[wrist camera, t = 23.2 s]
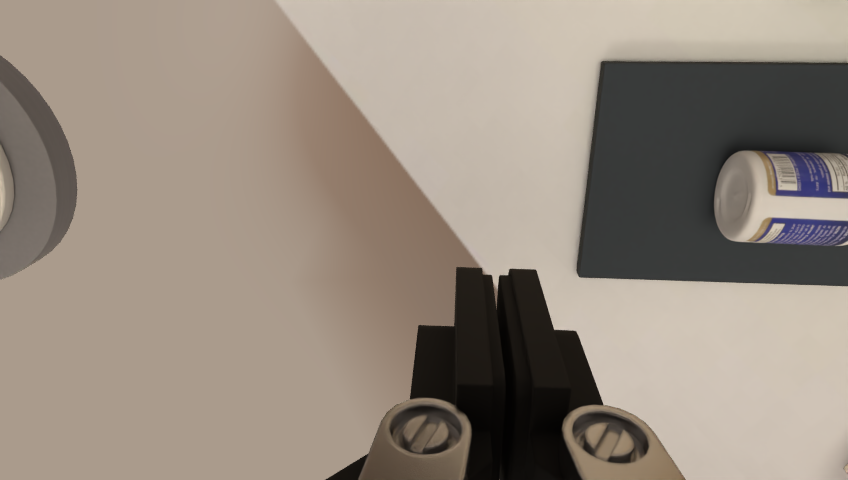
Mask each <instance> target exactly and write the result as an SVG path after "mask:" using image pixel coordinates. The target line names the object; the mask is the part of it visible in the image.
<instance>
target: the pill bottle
mask: <svg viewBox="0 0 848 480" xmlns="http://www.w3.org/2000/svg"><path fill="white" fill-rule="evenodd" d="M714 212H715V218H716V222H717V225H718V227H719V230H720V231H721V233H722V234H723V235H724V236H725V237H726V238H727V239H729V240H732V241H737V242H753V243H777V244H799V245H822V246H843V245H848V154H839V153H812V152H809V153H808V152H782V151H739V152H736V153H735V154H733V155H732V156H730V157H729V158H728V159H727V161H726V162H725V164H724V165H723V167H722V169H721V171H720V173H719V176H718V179H717V183H716V188H715V196H714Z"/></svg>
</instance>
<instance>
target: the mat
mask: <svg viewBox="0 0 848 480" xmlns="http://www.w3.org/2000/svg"><path fill="white" fill-rule="evenodd" d="M739 151H782V152H808V153H809V152H812V153H839V154H848V63H779V62H624V61H602V62H601V70H600V79H599V87H598V95H597V104H596V112H595V121H594V129H593V137H592V146H591V154H590V163H589V171H588V179H587V188H586V196H585V205H584V213H583V221H582V230H581V238H580V246H579V255H578V263H577V273H578V276H579V277H584V278H614V279H644V280H675V281H705V282H736V283H766V284H796V285H827V286H848V245H843V246H822V245H799V244H777V243H753V242H737V241H732V240H729V239H727V238H726V237H725V236H724V235H723V234H722V233H721V231H720V230H719V227H718V225H717V222H716V218H715V212H714V196H715V188H716V183H717V179H718V176H719V173H720V171H721V169H722V167H723V165H724V164H725V162H726V161H727V159H728V158H729V157H730V156H732V155H733V154H735V153H736V152H739Z"/></svg>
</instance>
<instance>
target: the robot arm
mask: <svg viewBox="0 0 848 480" xmlns="http://www.w3.org/2000/svg"><path fill="white" fill-rule="evenodd" d="M13 201H14V183H13V177H12V173H11V169H10V165H9V162H8V159H7V157H6V155H5V153H4V150H3V148H2V146H1V144H0V231H1V230H2V229H3V227H4V226H5V225H6V223H7V221H8V219H9V217H10V214H11V212H12V208H13ZM455 295H456V296H455V323H454V326H426V325H419V326H418V333H417V342H416V351H415V360H414V368H413V378H412V386H411V395H410V400H407V401H405V402H403V403H400V404H397V405H395V406H394V407H393V408H392V409H390V410H389V411H388V412H387V413H386V415H385V416H384V418H383V419H382V421H381V423H380V426H379V428H378V431H377V433H376V436H375V438H374V441H373V443H372V446H371V448H370V451H369V453H368V454H367V455H365V456H364V457H362V458H360V459H359V460H357V461H356V462H354V463H352V464H350V465H349V466H347V467H346V468H344V469H342V470H341V471H339V472H337V473H336V474H334V475H333V476H331V477H329V478H328V479H326V480H686V479H685V478H684V476H683V475H682V473H681V472H680V470H679V469H678V467H677V466H676V464H675V463H674V461H673V460H672V458H671V457H670V455H669V454H668V452H667V451H666V449H665V448H664V446H663V445H662V443H661V442H660V440H659V439H658V437H657V436H656V434H655V433H654V432H653V431H652V429H651V428H650V427H649V426H648V425H647V424H646V423H645V422H644V421H642V420H641V419H639V418H638V417H636V416H635V415H633V414H631V413H629V412H626V411H624V410H622V409H619V408H615V407H611V406H607V405H603V402H602V399H601V397H600V394H599V391H598V388H597V386H596V383H595V380H594V377H593V375H592V372H591V369H590V367H589V364H588V361H587V358H586V356H585V353H584V350H583V347H582V345H581V342H580V339H579V336H578V334H577V332H576V331H568V330H554V328H553V325H552V321H551V318H550V315H549V311H548V308H547V305H546V301H545V298H544V294H543V291H542V288H541V284H540V281H539V278H538V274H537V271H536V270H531V269H509V274H508V275H500V276H499V283H498V297H497V310H496V303H495V296H494V287H493V280H492V275H483V274H482V268H466V267H457V269H456V294H455Z"/></svg>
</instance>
